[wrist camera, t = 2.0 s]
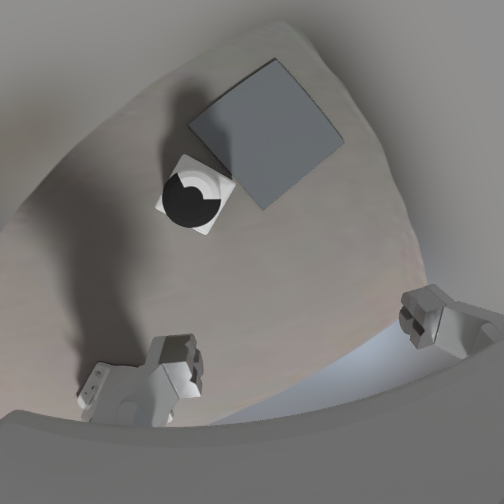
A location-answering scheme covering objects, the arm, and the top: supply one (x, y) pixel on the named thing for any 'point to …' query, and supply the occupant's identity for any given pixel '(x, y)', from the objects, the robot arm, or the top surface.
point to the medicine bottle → (194, 195)
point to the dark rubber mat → (267, 133)
